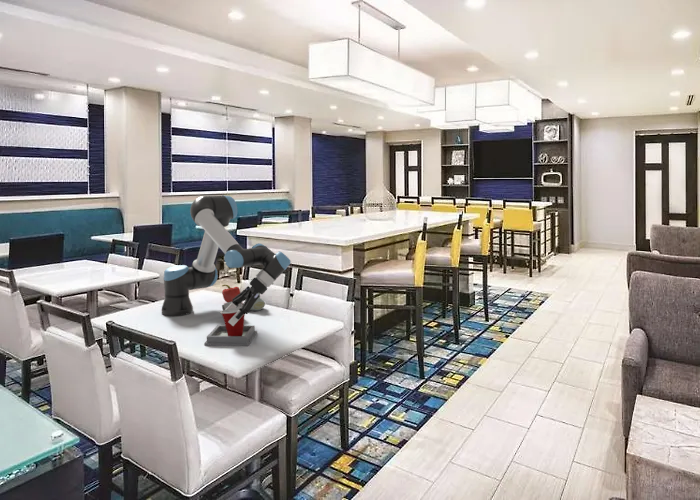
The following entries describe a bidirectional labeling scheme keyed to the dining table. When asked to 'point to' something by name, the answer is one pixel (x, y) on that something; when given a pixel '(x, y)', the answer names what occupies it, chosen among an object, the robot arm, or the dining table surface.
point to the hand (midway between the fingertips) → (227, 319)
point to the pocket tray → (230, 337)
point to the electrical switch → (228, 305)
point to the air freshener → (258, 304)
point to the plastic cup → (238, 327)
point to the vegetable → (230, 293)
